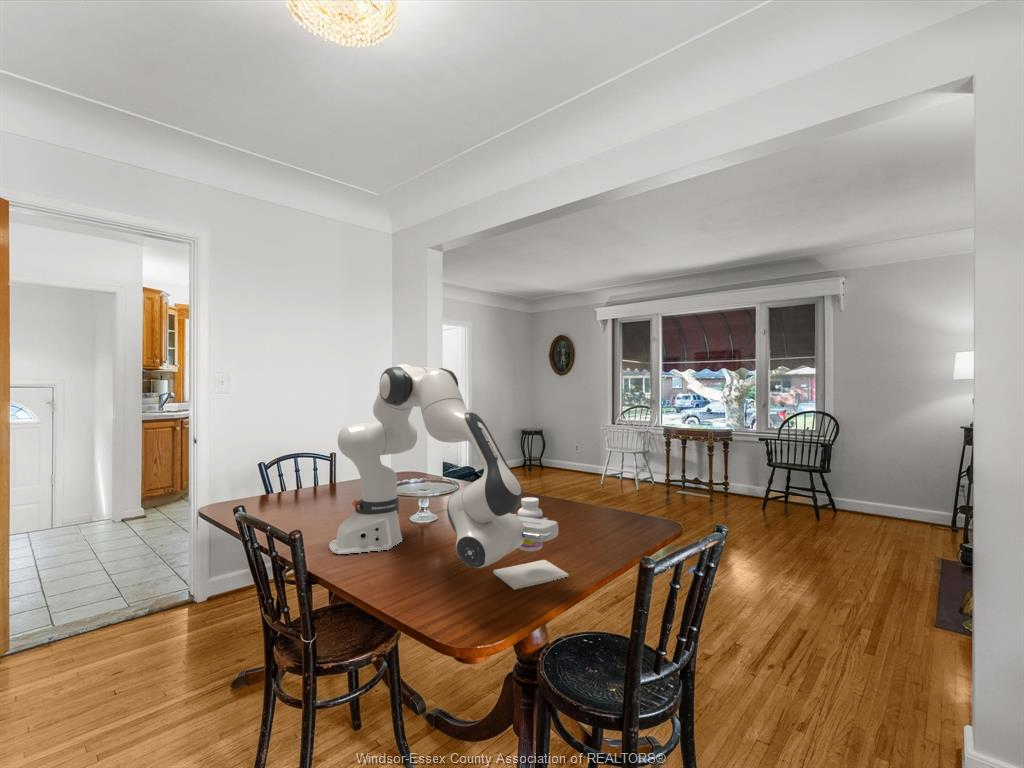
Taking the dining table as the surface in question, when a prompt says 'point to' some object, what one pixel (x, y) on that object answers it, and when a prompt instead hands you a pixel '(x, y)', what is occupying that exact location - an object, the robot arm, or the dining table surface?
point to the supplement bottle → (530, 511)
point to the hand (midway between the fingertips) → (531, 518)
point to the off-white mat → (530, 574)
